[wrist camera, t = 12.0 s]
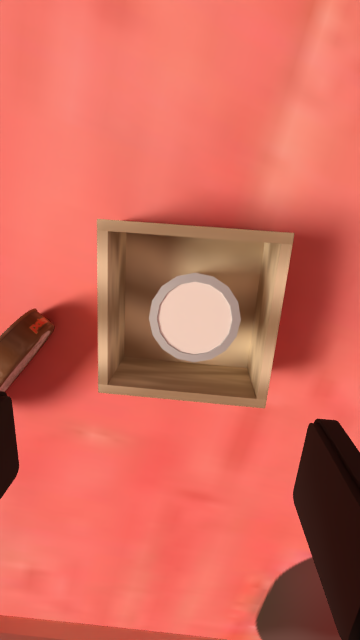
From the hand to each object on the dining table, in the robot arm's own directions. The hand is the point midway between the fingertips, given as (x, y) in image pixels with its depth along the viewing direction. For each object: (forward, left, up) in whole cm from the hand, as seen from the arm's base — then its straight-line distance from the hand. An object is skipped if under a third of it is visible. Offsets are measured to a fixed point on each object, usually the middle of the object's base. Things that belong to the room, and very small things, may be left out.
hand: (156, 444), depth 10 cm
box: (0, 0, -22) cm, 22 cm away
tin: (+8, -18, -23) cm, 30 cm away
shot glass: (0, +1, -21) cm, 21 cm away
